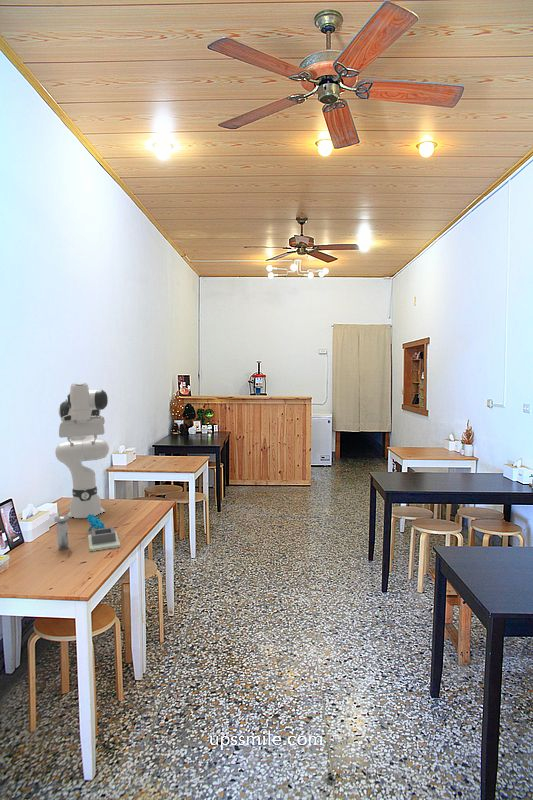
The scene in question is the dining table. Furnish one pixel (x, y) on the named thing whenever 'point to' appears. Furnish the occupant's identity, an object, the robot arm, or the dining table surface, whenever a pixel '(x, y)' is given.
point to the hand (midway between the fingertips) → (82, 445)
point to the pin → (62, 531)
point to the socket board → (103, 539)
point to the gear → (95, 522)
